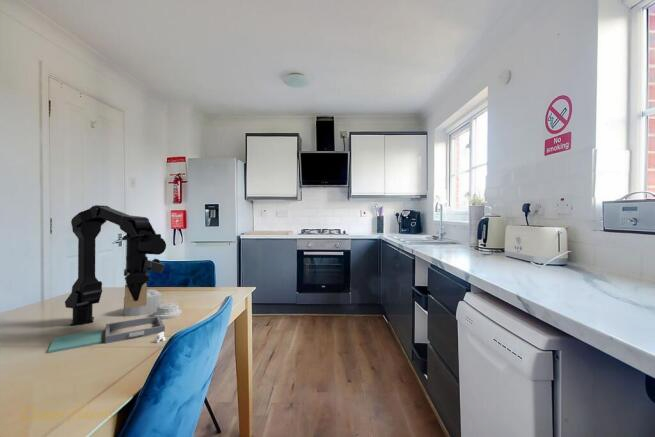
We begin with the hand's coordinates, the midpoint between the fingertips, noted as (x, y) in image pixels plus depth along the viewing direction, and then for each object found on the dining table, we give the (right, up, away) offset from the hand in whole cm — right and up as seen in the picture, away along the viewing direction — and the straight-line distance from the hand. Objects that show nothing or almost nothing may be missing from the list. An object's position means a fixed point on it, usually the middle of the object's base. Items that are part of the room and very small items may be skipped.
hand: (135, 299), depth 101 cm
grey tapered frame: (0, -11, 0) cm, 11 cm away
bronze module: (0, -2, 0) cm, 2 cm away
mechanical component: (+2, -12, +17) cm, 21 cm away
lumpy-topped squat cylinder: (-11, -11, +21) cm, 27 cm away
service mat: (-12, -11, -9) cm, 18 cm away
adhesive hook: (+12, -11, -8) cm, 18 cm away
